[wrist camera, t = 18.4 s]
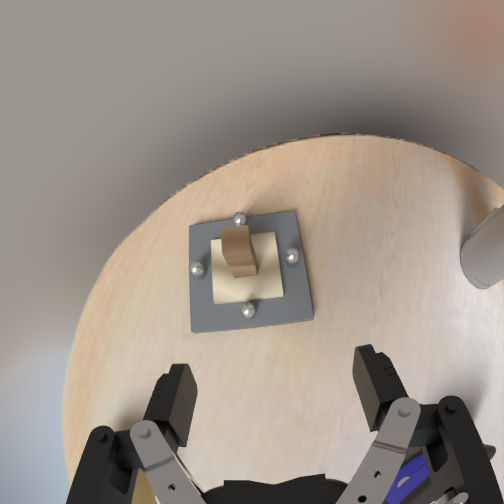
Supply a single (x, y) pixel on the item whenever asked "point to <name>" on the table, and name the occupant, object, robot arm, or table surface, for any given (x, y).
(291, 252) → the standoff pins
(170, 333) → the table surface
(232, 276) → the handled board
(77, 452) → the table surface
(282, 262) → the base board
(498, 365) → the table surface
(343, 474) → the table surface
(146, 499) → the yellow toy animal
